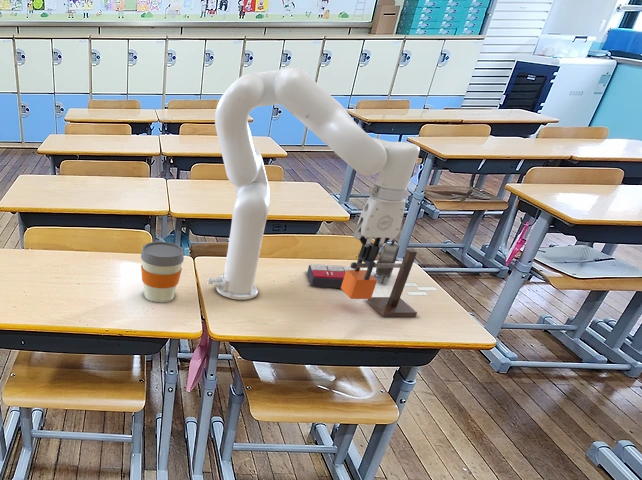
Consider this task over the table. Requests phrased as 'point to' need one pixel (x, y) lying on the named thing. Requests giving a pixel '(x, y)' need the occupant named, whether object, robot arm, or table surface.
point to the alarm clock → (387, 259)
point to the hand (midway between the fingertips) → (366, 258)
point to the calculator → (327, 275)
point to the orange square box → (361, 278)
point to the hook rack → (394, 303)
